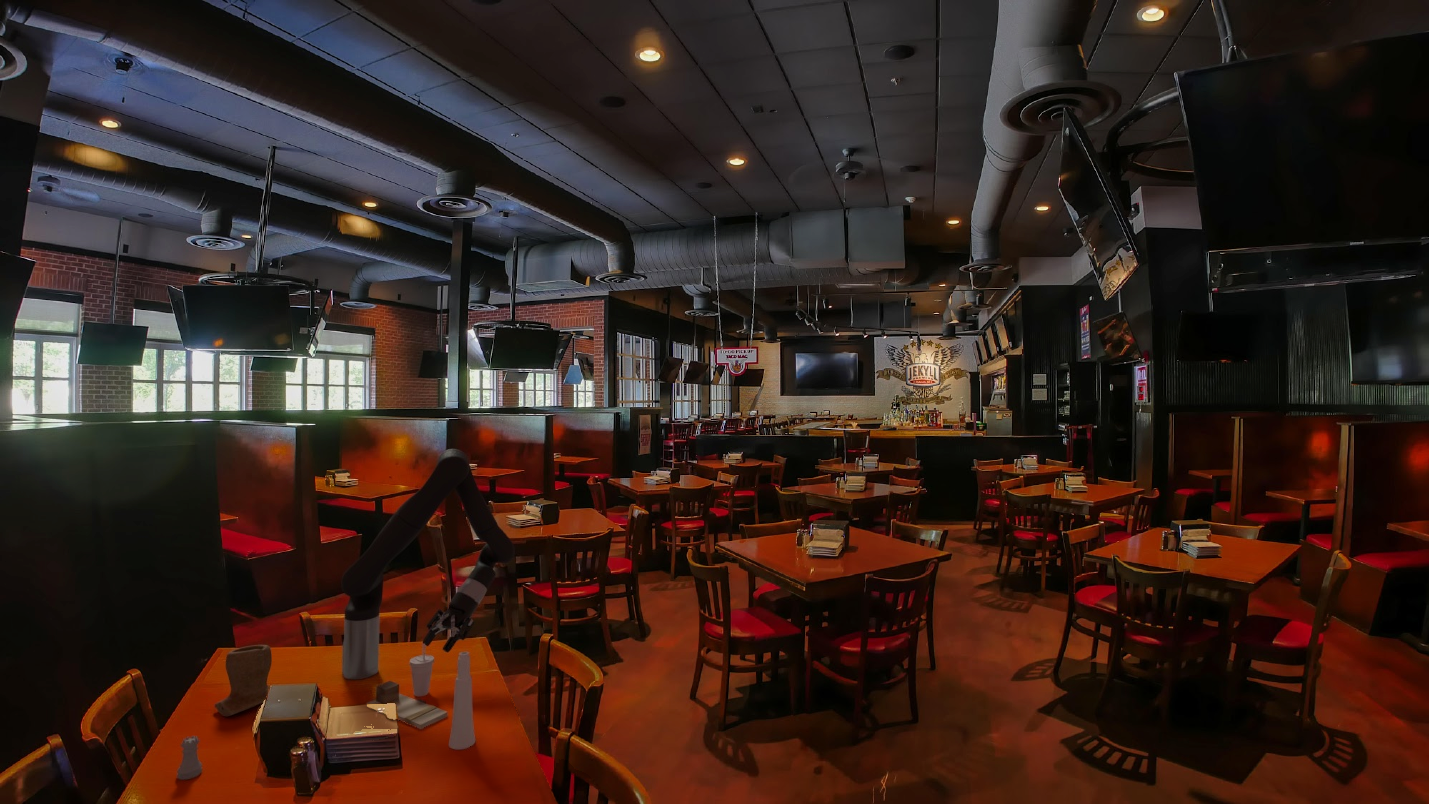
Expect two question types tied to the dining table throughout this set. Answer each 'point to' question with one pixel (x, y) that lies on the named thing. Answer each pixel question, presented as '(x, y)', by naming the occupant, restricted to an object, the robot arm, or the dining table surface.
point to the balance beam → (408, 706)
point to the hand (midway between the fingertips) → (435, 647)
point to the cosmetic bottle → (462, 707)
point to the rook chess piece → (189, 759)
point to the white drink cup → (421, 673)
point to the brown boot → (246, 678)
